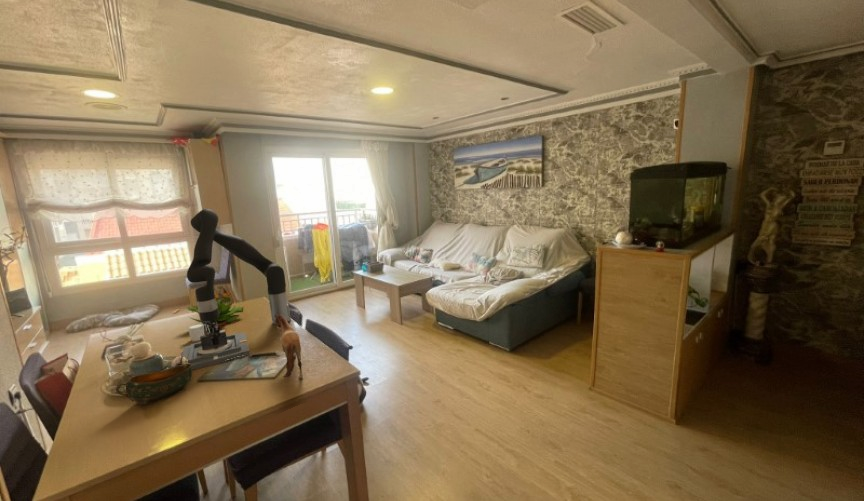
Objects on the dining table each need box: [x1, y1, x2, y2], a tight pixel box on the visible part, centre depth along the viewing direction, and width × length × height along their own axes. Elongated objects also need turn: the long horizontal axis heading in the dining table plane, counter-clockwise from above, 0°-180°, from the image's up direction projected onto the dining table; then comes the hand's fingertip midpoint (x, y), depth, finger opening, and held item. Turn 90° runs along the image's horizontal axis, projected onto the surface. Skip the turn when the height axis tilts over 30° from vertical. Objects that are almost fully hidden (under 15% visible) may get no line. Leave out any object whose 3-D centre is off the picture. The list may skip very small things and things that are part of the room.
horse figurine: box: [274, 314, 304, 379], centre depth 140 cm, size 31×8×21 cm, turn 26°
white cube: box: [187, 323, 205, 342], centre depth 180 cm, size 7×7×7 cm
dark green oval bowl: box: [115, 364, 193, 406], centre depth 129 cm, size 13×20×10 cm, turn 109°
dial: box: [197, 329, 232, 355], centre depth 162 cm, size 14×14×7 cm
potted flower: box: [186, 292, 245, 327], centre depth 198 cm, size 25×24×18 cm
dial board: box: [181, 331, 250, 370], centre depth 163 cm, size 26×26×4 cm
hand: (214, 343), depth 162 cm, fingers closed on dial, 3 cm apart
